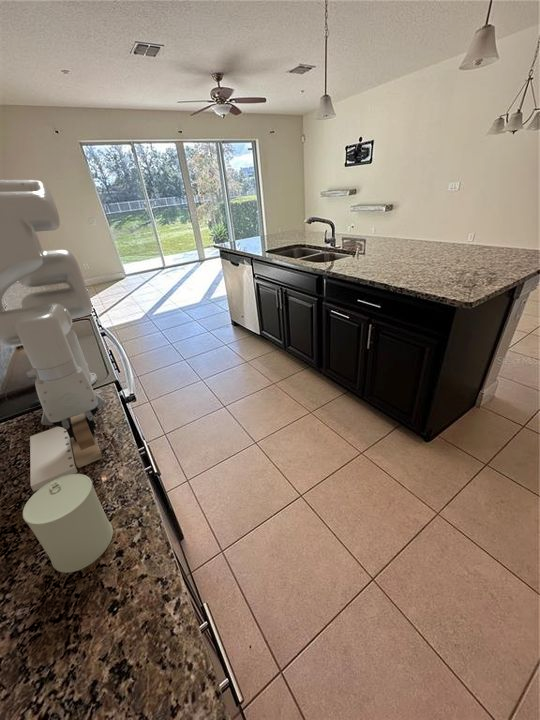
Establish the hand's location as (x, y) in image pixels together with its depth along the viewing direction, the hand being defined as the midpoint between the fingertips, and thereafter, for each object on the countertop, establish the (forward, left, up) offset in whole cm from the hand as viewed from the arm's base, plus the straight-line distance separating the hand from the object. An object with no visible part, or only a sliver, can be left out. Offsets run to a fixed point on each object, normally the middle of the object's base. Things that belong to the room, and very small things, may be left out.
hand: (84, 434), depth 74 cm
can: (+29, +6, -3) cm, 30 cm away
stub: (0, 0, -2) cm, 2 cm away
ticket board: (+2, -7, -2) cm, 8 cm away
